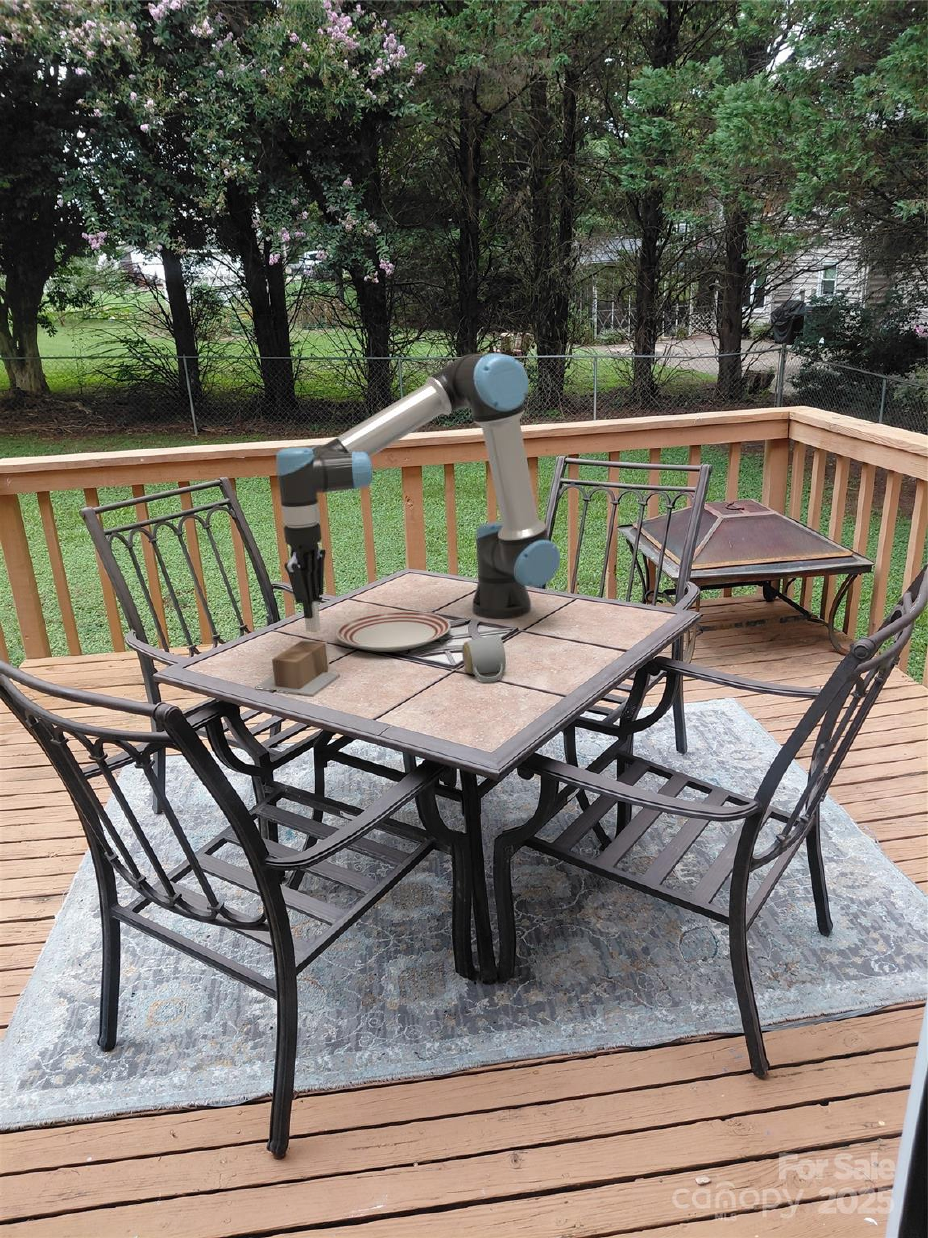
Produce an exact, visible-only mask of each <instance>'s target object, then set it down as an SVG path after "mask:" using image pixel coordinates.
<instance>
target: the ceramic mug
mask: <svg viewBox="0 0 928 1238" xmlns="http://www.w3.org/2000/svg"><path fill="white" fill-rule="evenodd" d="M461 648H462V649H461V650H462V651H461V652H462V653H461V656H462V661H463V665H464V668H465V670H466V673H468V674H469V675H474V676H475V677H476V678H477V680H479V681H480V682H483V683H487V684H488V683H491V684H492V683H495V682H497V681H499V680H500V679H501V677H502V676H503V671H505V670H506V667H507V658H506V651H505V650H506V649H505V646H504V642H503V639H502V638H501V635H499V634H494V635H490V636H489V635H488V636H484V637H480V638H475V639H471V640H467V641H465V642H463V644H462V647H461ZM495 672H498V673H497V674H496V675H495V676H484V675H481V674H485V673H486V674H487V673H495Z"/></svg>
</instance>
